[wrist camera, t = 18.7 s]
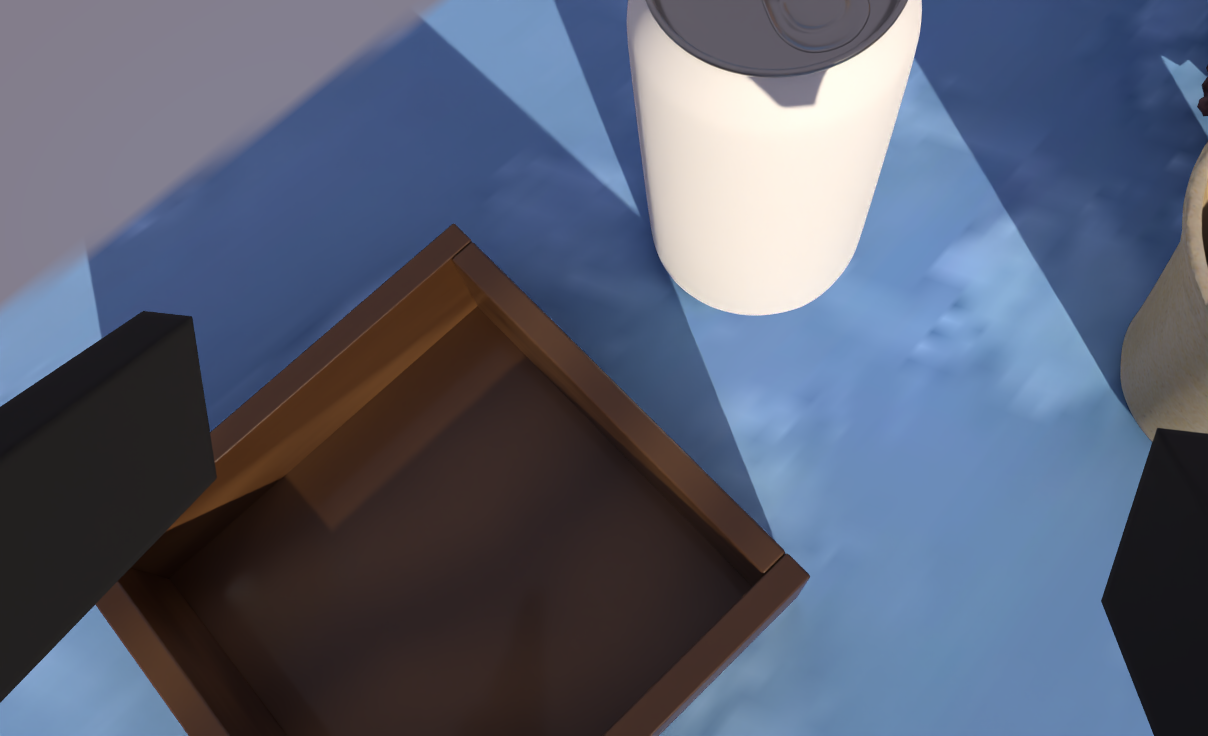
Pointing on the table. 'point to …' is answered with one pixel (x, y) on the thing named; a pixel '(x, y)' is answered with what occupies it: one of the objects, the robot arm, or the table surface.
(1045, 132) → the table surface
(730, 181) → the can
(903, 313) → the table surface
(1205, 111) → the pine cone
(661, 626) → the wooden box
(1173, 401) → the flower pot
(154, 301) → the table surface
